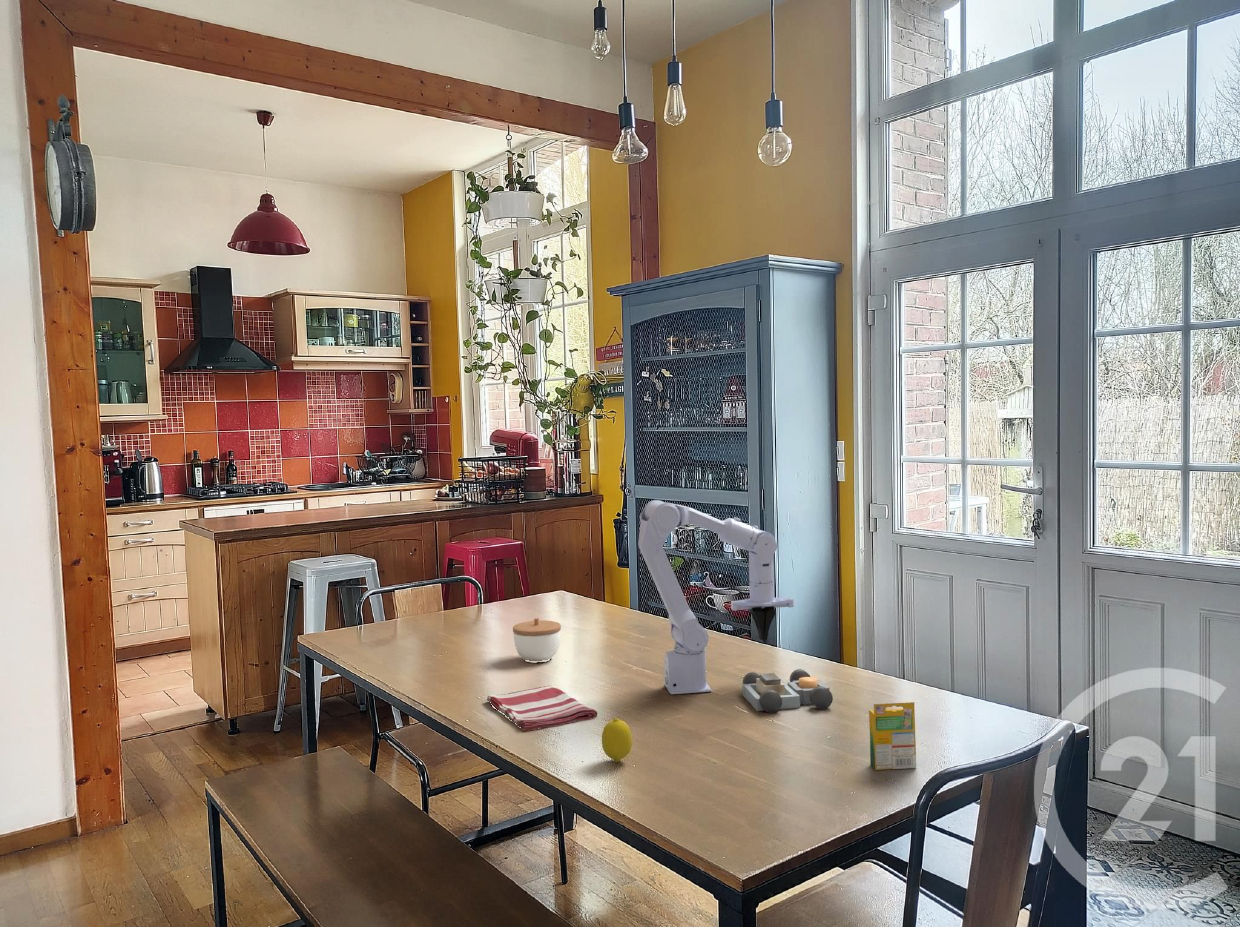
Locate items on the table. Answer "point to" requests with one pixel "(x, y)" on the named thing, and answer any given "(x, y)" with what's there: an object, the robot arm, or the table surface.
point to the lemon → (616, 739)
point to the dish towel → (541, 707)
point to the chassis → (786, 694)
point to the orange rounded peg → (807, 682)
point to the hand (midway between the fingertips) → (763, 638)
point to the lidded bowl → (537, 639)
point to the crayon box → (892, 736)
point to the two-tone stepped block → (769, 684)
